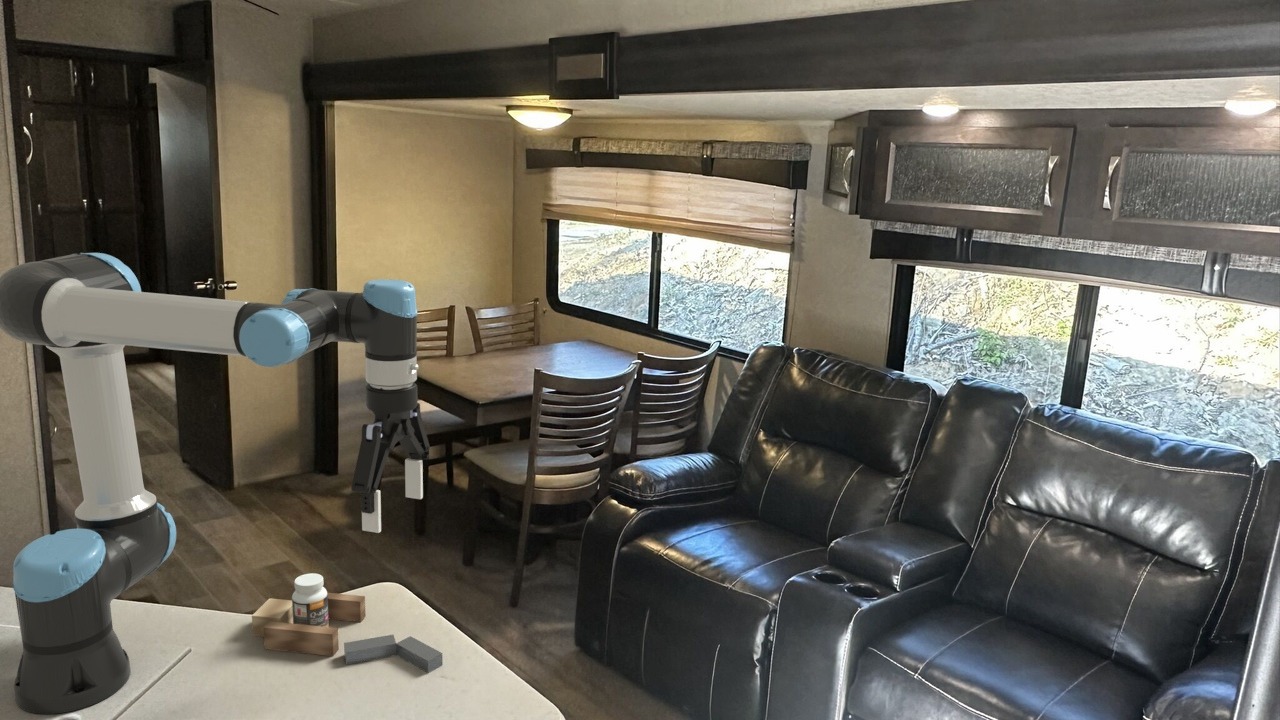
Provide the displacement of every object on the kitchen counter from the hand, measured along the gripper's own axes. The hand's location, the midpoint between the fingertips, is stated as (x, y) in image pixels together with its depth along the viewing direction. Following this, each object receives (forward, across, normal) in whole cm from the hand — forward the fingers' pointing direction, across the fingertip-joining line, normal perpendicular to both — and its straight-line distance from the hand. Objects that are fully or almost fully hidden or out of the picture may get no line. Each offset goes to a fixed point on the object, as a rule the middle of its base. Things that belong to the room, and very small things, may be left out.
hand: (393, 513), depth 142 cm
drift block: (+27, +4, +25) cm, 37 cm away
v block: (+27, +2, +1) cm, 27 cm away
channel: (+27, +5, +18) cm, 33 cm away
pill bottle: (+27, +5, +19) cm, 33 cm away
